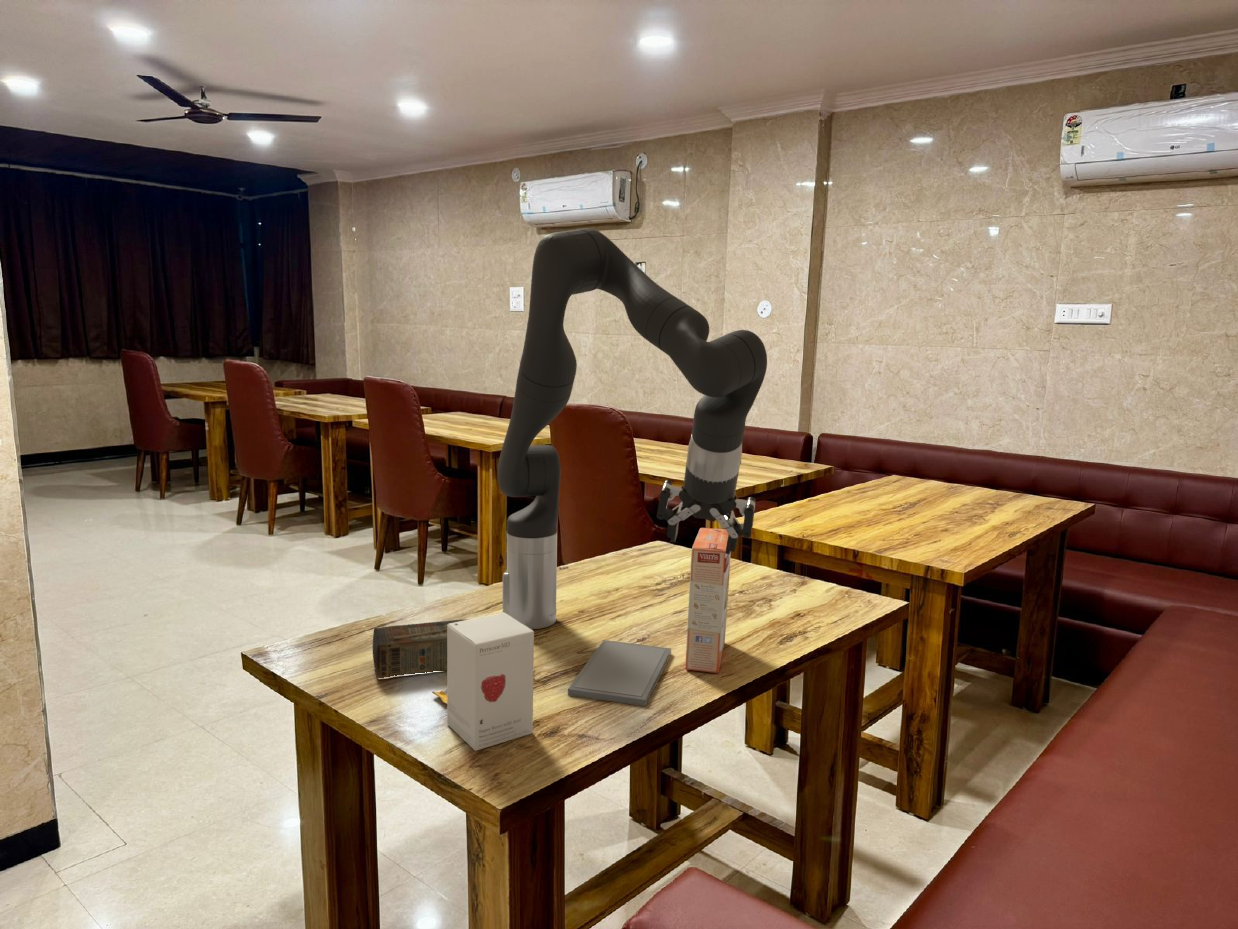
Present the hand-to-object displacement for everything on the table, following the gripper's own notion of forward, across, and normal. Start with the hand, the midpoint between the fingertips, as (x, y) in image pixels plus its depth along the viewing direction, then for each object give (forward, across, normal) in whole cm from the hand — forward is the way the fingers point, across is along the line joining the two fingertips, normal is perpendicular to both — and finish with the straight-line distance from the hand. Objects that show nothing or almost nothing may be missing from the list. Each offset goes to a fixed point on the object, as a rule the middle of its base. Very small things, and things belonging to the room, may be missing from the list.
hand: (701, 544), depth 125 cm
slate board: (+21, -8, -12) cm, 25 cm away
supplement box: (+12, -22, -32) cm, 41 cm away
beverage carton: (+23, -39, -17) cm, 48 cm away
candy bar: (+19, -28, -22) cm, 40 cm away
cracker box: (+24, +4, -2) cm, 25 cm away
